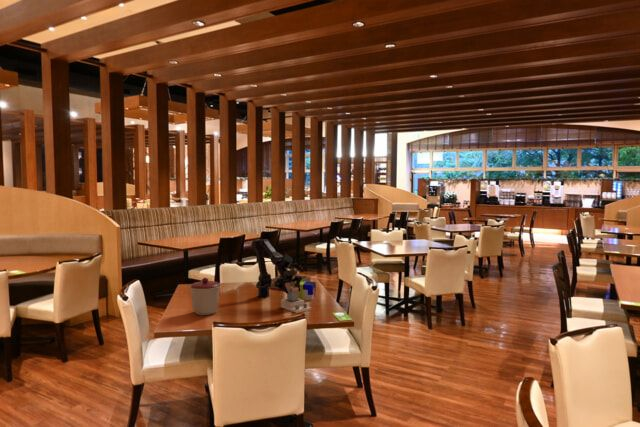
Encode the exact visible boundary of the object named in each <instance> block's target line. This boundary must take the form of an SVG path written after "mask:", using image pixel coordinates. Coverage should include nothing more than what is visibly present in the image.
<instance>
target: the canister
mask: <svg viewBox="0 0 640 427" xmlns="http://www.w3.org/2000/svg"><path fill="white" fill-rule="evenodd" d="M221 286H222V284H221V283H219V282H218V281H213V280H209V278H207V277H203V278H202V280H201V281H196V282H193V283H192V284H190V285H189V287H188V288H189V289H190V295H191V302H192V309H193V313H194V314H196V315H198V316H210V315H214V314H215V313H216V312H217V311H218V305H219V300H220V299H219V298H220V288H221Z"/></svg>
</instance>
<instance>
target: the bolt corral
mask: <svg viewBox="0 0 640 427" xmlns="http://www.w3.org/2000/svg"><path fill="white" fill-rule="evenodd" d="M299 276H302V278H303V279H302V280H301V281H306V282H312V281H311V280H312V277H311V276H309V275H301V274H299ZM271 279H272V283H271V287H269V288H270V289H277V287H275V286H274V283H275V281H276V280H277V279H280V275H278V276H276V277H273V278H271ZM301 281H300V282H301ZM285 286H286V288H287V287H292V286H294V283H293V282H289V283H285Z"/></svg>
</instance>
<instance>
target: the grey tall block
mask: <svg viewBox="0 0 640 427" xmlns="http://www.w3.org/2000/svg"><path fill="white" fill-rule="evenodd" d="M287 291H288V294H286V299H287V301H288V302H296V301H298V287H295V286H292V287H287Z"/></svg>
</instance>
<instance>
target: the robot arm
mask: <svg viewBox="0 0 640 427" xmlns="http://www.w3.org/2000/svg"><path fill="white" fill-rule="evenodd" d="M251 247H252V250H253V251H254V253H255V256H256V261H257V265H258V271H259V275H258V279H257V280H258V281H257V283H256V284H255V287H256V289H257V290H258V292H257V293H258V295H257V298H263V299H264V298H265V299H266V298H268V297H270V296H271V295H270V289H269V288H270V287H271V283H272V279H273V278H272V275H271V274H270V273H269V272H268V270H267V265H266V258H265V255H264V250H265V252H266V253H267V254H268V255H269V257H270V261H271V263H272V265H275V271H278V274H279V276H280V279H277V280H276V281H275V283H274V286H275V287H277V288H279V289H278V290H281V291H282V292H283V293H285V294H286V295H287V294H288V291H287V288H286V286H285V283H289V282H293V283H294V286H295V287H298V291H299V292H300V281H301V280H302V279H303V278H302V276H303V275H301V276H295V278H294V279H292V278H293V275H296V273H297V271H298V270H297V268H295V267H294V268H292V269H290V270H288V269H289V267H290V265H291V264H292V263H293V261H294V259H293V257H291V256H290V255H289V254H287V253H285V254H283V255H282V254H281V253H280V252H277V251H276V249H275V248H274V247H273V246H272V244H271V242H270V241H269V239H267V238H265V239H262V238H261V239H253V240H252V241H251ZM277 288H276V289H277Z"/></svg>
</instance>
